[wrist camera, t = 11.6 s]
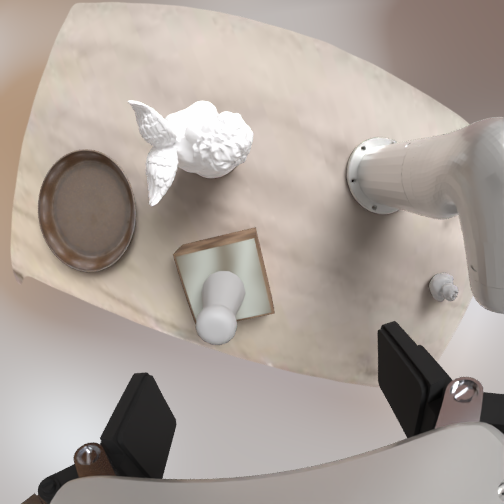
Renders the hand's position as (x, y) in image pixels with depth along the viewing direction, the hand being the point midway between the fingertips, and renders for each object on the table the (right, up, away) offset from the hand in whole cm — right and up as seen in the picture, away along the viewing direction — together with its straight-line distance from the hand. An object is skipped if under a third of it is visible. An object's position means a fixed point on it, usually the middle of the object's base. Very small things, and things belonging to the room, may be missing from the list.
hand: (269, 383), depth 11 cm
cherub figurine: (-8, +19, +33) cm, 39 cm away
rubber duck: (+35, -1, +38) cm, 52 cm away
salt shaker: (-4, 0, +31) cm, 31 cm away
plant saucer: (-29, +12, +35) cm, 47 cm away
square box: (-5, +2, +37) cm, 37 cm away
